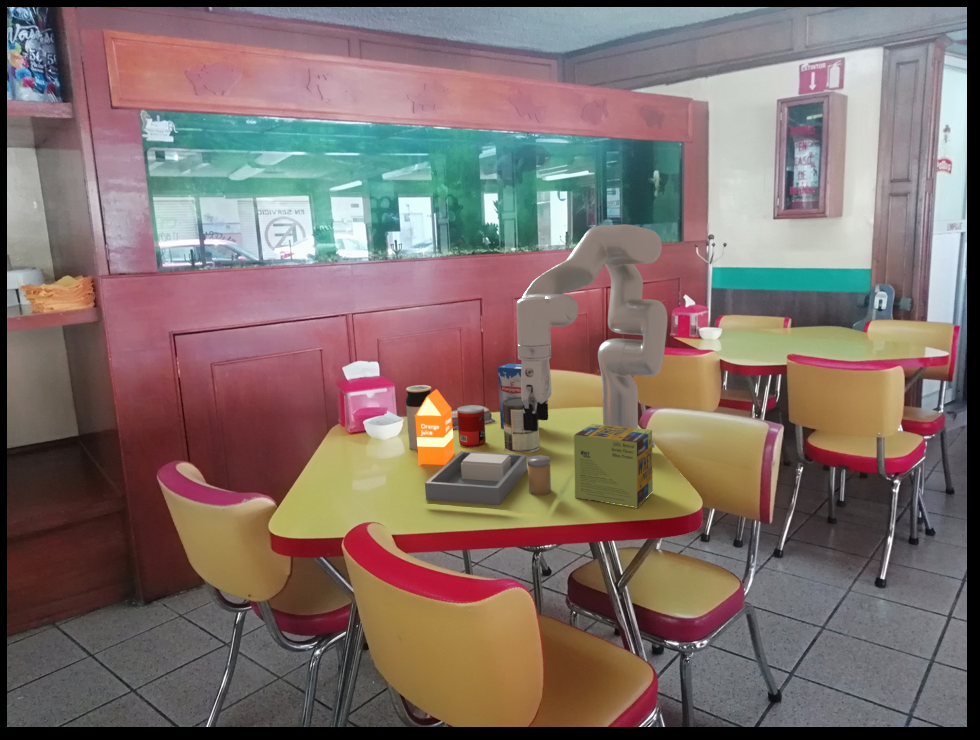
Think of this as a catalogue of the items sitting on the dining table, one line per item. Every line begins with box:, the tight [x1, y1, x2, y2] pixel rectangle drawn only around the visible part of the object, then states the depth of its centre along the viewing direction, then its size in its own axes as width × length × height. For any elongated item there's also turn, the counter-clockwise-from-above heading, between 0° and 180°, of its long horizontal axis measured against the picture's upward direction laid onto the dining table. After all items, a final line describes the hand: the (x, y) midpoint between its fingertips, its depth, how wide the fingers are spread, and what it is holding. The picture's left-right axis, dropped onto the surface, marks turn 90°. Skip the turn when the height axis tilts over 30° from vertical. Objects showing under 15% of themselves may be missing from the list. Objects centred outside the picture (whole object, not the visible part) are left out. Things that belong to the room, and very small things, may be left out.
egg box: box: [461, 453, 511, 481], centre depth 175 cm, size 11×7×5 cm, turn 72°
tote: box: [424, 450, 528, 510], centre depth 169 cm, size 18×24×5 cm
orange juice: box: [415, 388, 455, 467], centre depth 189 cm, size 8×9×20 cm
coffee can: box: [502, 397, 541, 453], centre depth 198 cm, size 10×10×14 cm
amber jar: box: [527, 454, 552, 496], centre depth 162 cm, size 5×5×9 cm
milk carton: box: [497, 363, 522, 429], centre depth 219 cm, size 10×6×20 cm, turn 58°
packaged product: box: [451, 405, 496, 430], centre depth 229 cm, size 18×5×10 cm
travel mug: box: [405, 384, 432, 451], centre depth 204 cm, size 8×8×18 cm
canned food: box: [456, 404, 487, 448], centre depth 205 cm, size 8×8×11 cm
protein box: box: [573, 423, 654, 508], centre depth 159 cm, size 10×15×16 cm
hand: (536, 424), depth 159 cm, fingers open, 9 cm apart
